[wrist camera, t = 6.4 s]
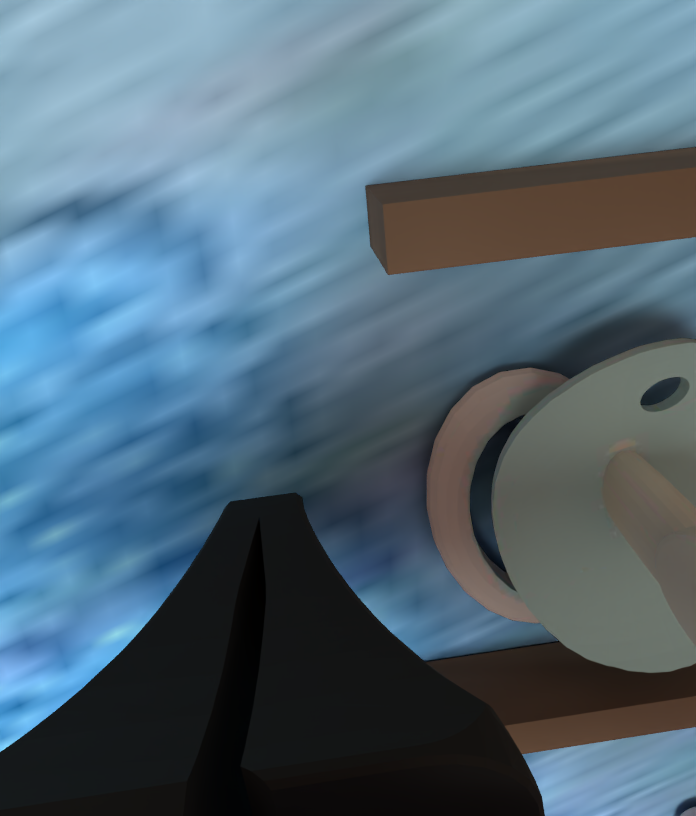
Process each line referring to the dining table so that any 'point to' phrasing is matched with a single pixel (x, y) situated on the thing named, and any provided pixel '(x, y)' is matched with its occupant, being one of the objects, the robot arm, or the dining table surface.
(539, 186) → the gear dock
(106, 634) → the dining table surface
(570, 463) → the pacifier
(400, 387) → the dining table surface
